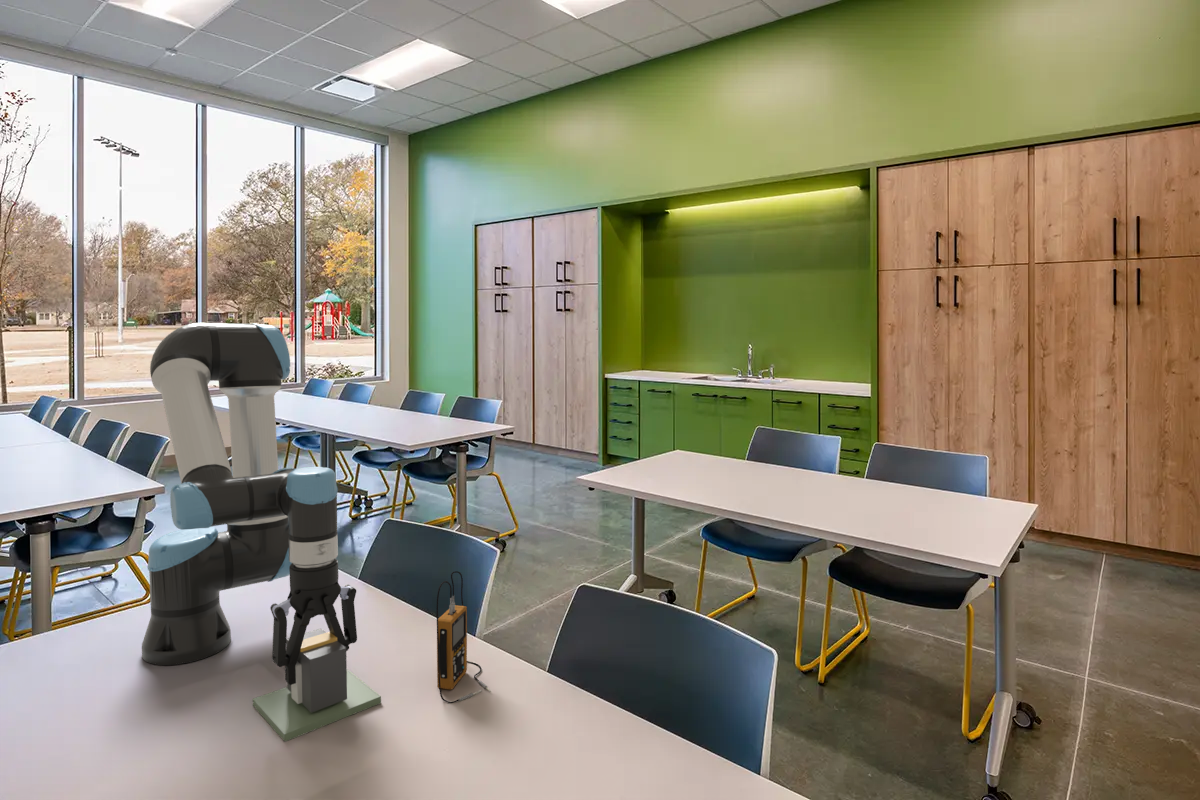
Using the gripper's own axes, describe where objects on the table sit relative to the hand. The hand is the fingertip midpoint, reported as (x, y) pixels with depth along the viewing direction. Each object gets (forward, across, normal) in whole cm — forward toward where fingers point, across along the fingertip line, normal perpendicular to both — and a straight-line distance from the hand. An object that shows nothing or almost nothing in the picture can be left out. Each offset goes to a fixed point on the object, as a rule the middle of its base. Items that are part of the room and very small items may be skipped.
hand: (317, 692), depth 115 cm
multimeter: (+2, +23, -12) cm, 26 cm away
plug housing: (0, 0, 0) cm, 0 cm away
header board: (+2, 0, 0) cm, 2 cm away
